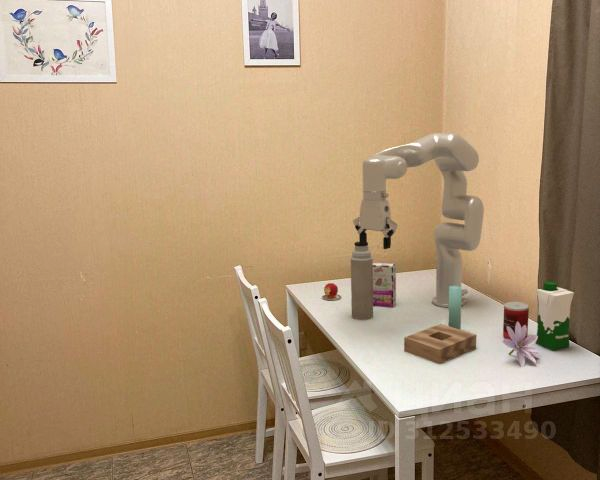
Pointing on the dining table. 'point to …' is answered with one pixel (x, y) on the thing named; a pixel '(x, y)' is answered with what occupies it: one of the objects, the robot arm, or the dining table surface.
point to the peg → (455, 307)
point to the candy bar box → (384, 284)
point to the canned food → (515, 317)
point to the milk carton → (553, 316)
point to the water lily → (522, 344)
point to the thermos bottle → (362, 282)
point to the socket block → (440, 343)
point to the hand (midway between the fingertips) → (374, 246)
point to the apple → (331, 292)
